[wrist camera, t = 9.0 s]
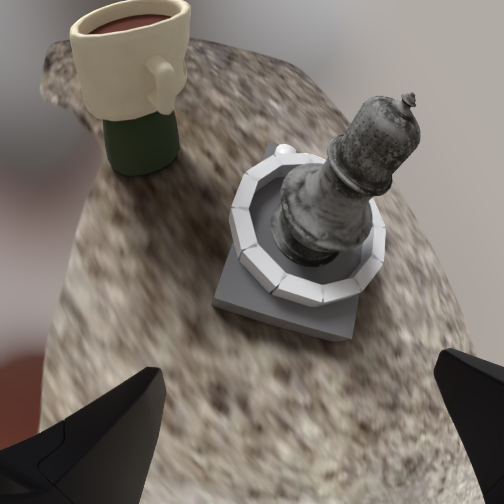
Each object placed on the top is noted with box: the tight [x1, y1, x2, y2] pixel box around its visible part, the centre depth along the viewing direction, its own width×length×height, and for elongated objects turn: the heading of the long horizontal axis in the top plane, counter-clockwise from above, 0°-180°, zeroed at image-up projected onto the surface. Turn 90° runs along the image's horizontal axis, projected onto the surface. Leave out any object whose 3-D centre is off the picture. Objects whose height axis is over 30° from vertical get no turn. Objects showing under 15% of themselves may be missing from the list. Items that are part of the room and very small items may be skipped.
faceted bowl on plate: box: [212, 141, 386, 342], centre depth 19 cm, size 13×10×4 cm
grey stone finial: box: [270, 93, 420, 267], centre depth 13 cm, size 6×6×12 cm
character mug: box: [70, 0, 191, 175], centre depth 16 cm, size 11×7×13 cm, turn 39°
